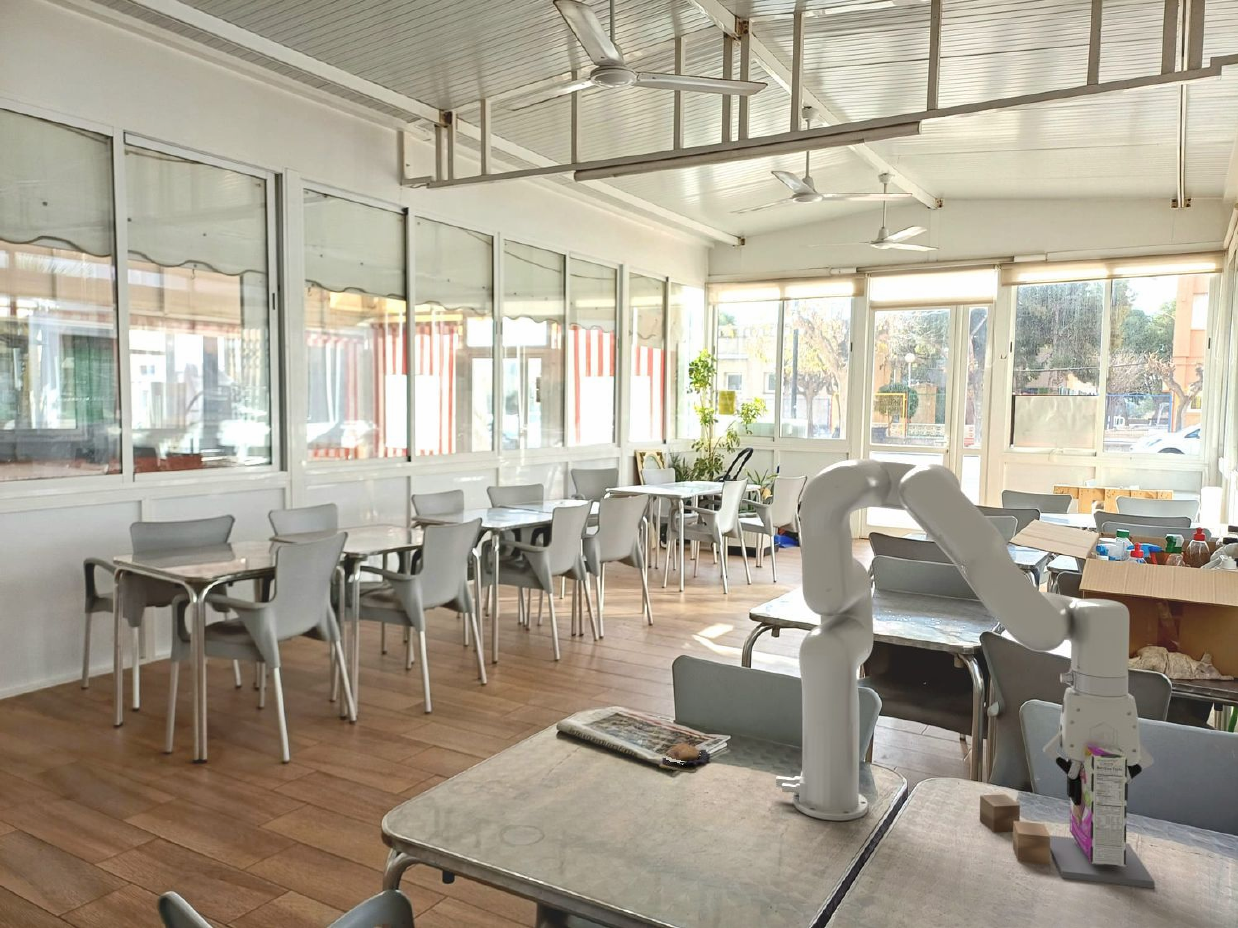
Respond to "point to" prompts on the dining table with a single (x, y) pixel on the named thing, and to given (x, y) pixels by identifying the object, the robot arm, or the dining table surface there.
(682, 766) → the bread roll
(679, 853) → the dining table surface
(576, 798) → the dining table surface
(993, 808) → the dark oak block
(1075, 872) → the charcoal mat
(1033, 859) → the light brown wooden cube
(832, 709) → the robot arm
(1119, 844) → the candy bar box
